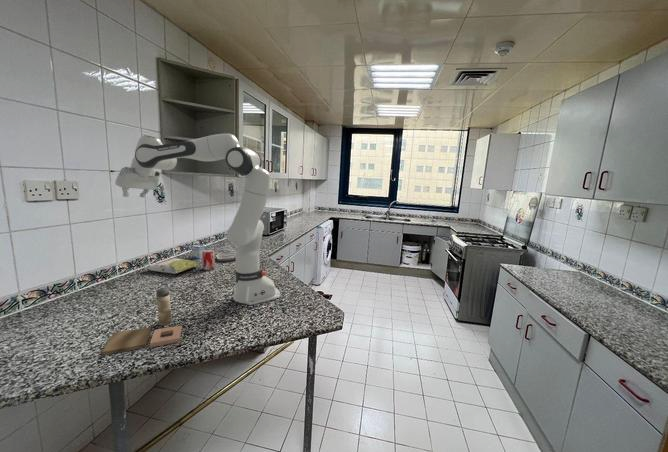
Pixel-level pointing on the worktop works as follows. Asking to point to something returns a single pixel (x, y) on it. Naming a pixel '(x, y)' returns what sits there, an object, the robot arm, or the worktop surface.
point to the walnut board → (127, 340)
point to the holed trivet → (166, 336)
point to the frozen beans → (172, 266)
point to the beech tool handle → (164, 306)
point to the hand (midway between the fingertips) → (134, 196)
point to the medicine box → (197, 251)
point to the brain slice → (226, 256)
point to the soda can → (208, 259)
